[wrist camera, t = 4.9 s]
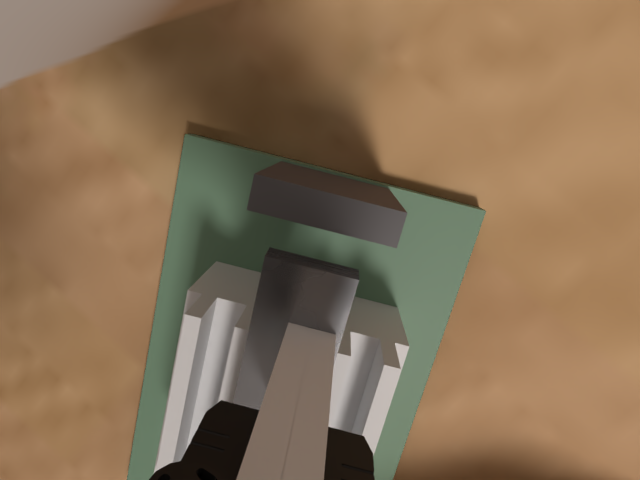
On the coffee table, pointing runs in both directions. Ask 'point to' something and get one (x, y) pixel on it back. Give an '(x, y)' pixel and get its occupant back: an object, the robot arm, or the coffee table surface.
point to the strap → (291, 313)
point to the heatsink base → (312, 241)
